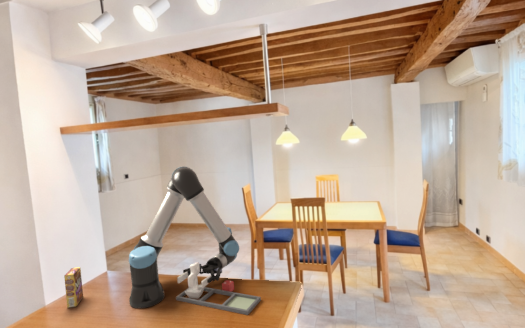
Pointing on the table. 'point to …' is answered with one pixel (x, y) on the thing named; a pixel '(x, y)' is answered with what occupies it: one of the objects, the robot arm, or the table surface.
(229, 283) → the red die
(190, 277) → the figurine
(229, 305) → the frame
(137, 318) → the table surface
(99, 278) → the table surface
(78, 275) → the candy box
